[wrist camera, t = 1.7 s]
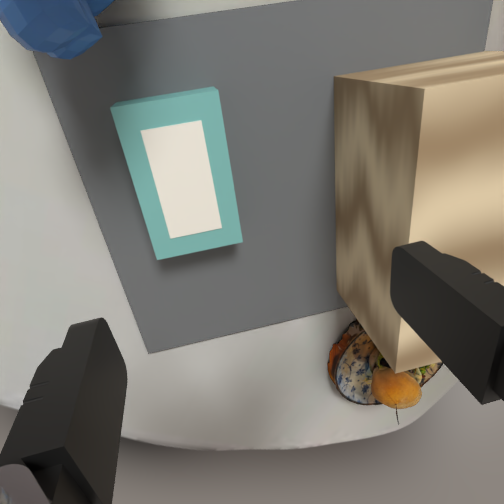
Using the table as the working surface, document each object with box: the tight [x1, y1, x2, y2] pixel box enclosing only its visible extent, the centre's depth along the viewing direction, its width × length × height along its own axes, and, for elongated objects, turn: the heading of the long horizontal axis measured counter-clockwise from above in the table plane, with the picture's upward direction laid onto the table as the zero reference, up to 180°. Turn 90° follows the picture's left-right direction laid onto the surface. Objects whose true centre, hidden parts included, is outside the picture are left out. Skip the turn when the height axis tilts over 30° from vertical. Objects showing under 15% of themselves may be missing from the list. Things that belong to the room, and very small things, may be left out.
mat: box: [33, 0, 493, 354], centre depth 25 cm, size 22×26×1 cm
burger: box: [328, 319, 443, 425], centre depth 32 cm, size 12×12×8 cm
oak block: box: [334, 51, 504, 374], centre depth 22 cm, size 16×10×9 cm, turn 7°
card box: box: [110, 86, 243, 260], centre depth 21 cm, size 9×6×2 cm, turn 7°
